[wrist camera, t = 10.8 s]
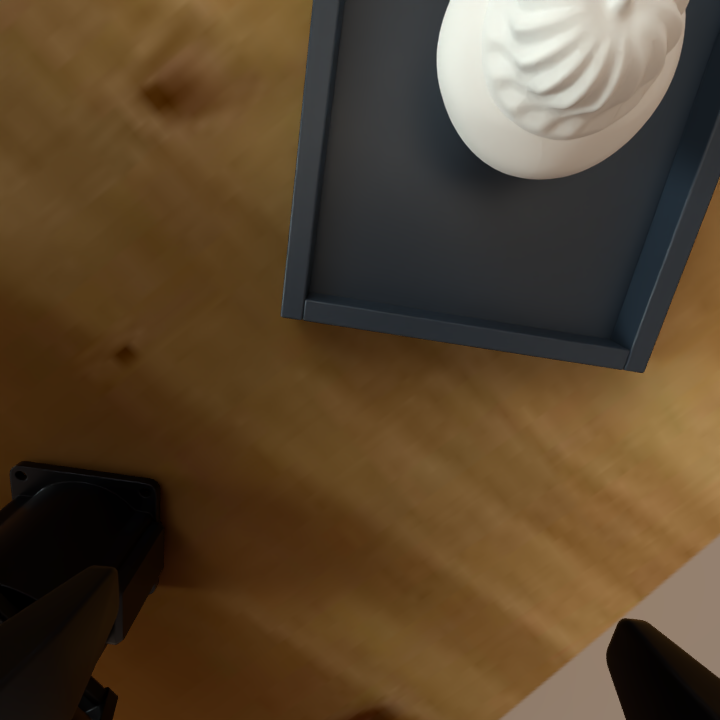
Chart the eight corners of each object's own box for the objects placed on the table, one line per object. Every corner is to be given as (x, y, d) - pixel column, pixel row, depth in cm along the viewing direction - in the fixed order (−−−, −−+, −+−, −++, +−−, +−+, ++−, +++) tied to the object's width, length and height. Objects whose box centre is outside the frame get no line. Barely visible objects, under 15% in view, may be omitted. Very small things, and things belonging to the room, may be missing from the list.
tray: (289, 305, 18) (280, 317, 16) (356, -312, 12) (354, -410, 11) (614, 356, 19) (644, 373, 17) (819, -212, 13) (900, -287, 11)
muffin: (416, 184, 16) (453, 169, 9) (426, -26, 14) (480, -232, 7) (590, 185, 16) (750, 170, 9) (624, -26, 14) (857, -232, 7)
